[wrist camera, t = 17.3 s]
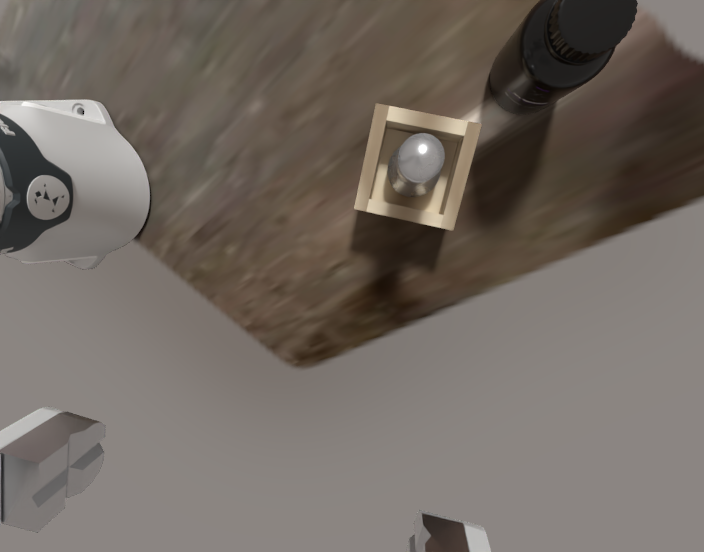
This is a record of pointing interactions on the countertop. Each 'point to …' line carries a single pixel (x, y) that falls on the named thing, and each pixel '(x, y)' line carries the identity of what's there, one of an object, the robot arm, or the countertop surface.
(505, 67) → the supplement bottle
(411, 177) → the metal coffee tamper
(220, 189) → the countertop surface
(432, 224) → the open wooden box
